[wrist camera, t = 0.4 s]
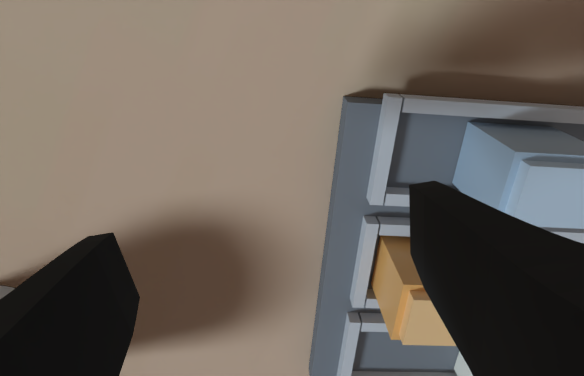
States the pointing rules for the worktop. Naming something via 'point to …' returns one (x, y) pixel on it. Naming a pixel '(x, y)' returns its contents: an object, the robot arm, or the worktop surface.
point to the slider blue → (524, 172)
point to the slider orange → (405, 296)
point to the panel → (396, 217)
